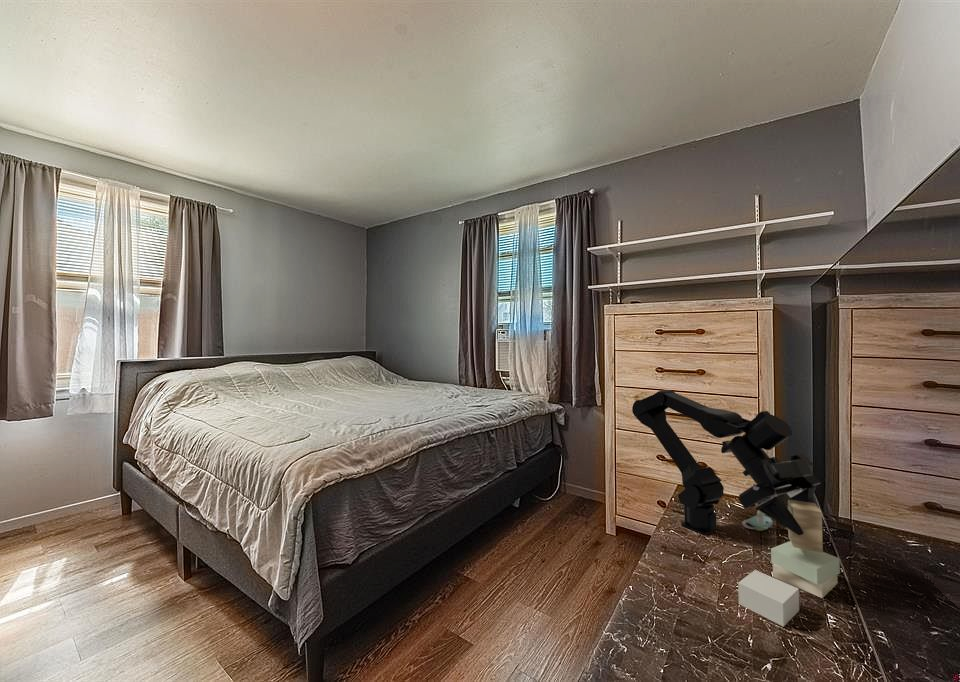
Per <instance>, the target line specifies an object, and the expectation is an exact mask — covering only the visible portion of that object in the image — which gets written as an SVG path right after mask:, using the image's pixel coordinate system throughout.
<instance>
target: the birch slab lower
mask: <svg viewBox="0 0 960 682" xmlns="http://www.w3.org/2000/svg"><path fill="white" fill-rule="evenodd" d="M772 576H773V578H775V579H777V580H780V581H782V582H784V583H787V584H789V585H791V586H794V587H796V588H798V589H799V590H802V591H805V592H807V593H809V594H812V595H814V596H817V597H819V598H820V599H823V598H824V597H826V595H828V593H829V592H830V591H831V590H833V588H834V587H835V586H836V585H837V584H838V575H836V576H834V577H832V578H830V579H827V580H825V581H823V582H821V583H819V584H815V583H813V582H811V581H809V580H807V579H805V578H802V577H800V576H798V575H796V574H794V573H792V572H790V571H788V570H785V569H783V568H781V567H779V566H777V565H775V564H773V563H772Z"/></svg>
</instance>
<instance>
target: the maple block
mask: <svg viewBox="0 0 960 682" xmlns="http://www.w3.org/2000/svg"><path fill="white" fill-rule="evenodd" d="M787 500H788V499H787ZM787 509H788V510H789V511H790V513H791V514H792V516H793V517H794V518H795V520H796V521H797V523H798V524H799V526H800V527H801V529H802V530H803V532H804V534H802V535H797V534H796V533H794V532H793V531H791V530H790V529H788V528H787V532H788V539H789V541H791V543H792V545H793V547H795V548H801V549H806V550H811V551H817V552H822V553H823V552H824V550H823V548H824V546H823V528H822V521H823V511H821V509H820V508H819V506H818V505H817V504H816V502H814V503H810V502H803V501H796V500H788V502H787Z"/></svg>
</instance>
